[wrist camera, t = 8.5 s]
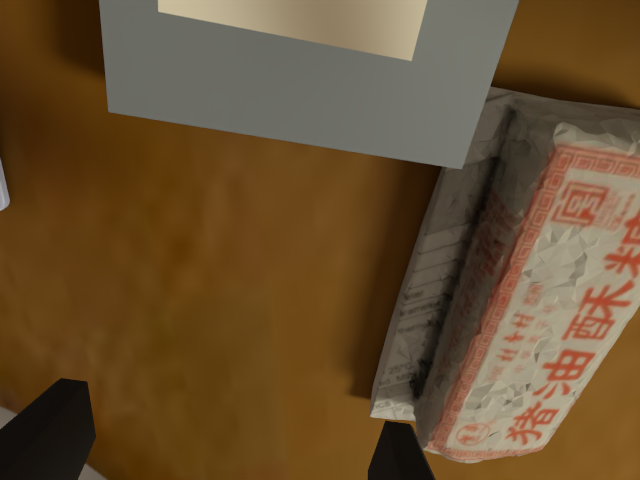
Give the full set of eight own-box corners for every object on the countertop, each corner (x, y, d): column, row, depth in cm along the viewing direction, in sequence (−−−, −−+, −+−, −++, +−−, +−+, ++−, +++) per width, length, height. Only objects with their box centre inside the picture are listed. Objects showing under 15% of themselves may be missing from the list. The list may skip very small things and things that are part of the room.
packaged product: (500, 105, 13) (820, 157, 13) (458, 77, 17) (702, 117, 17) (371, 474, 21) (565, 497, 22) (365, 395, 26) (528, 415, 26)
